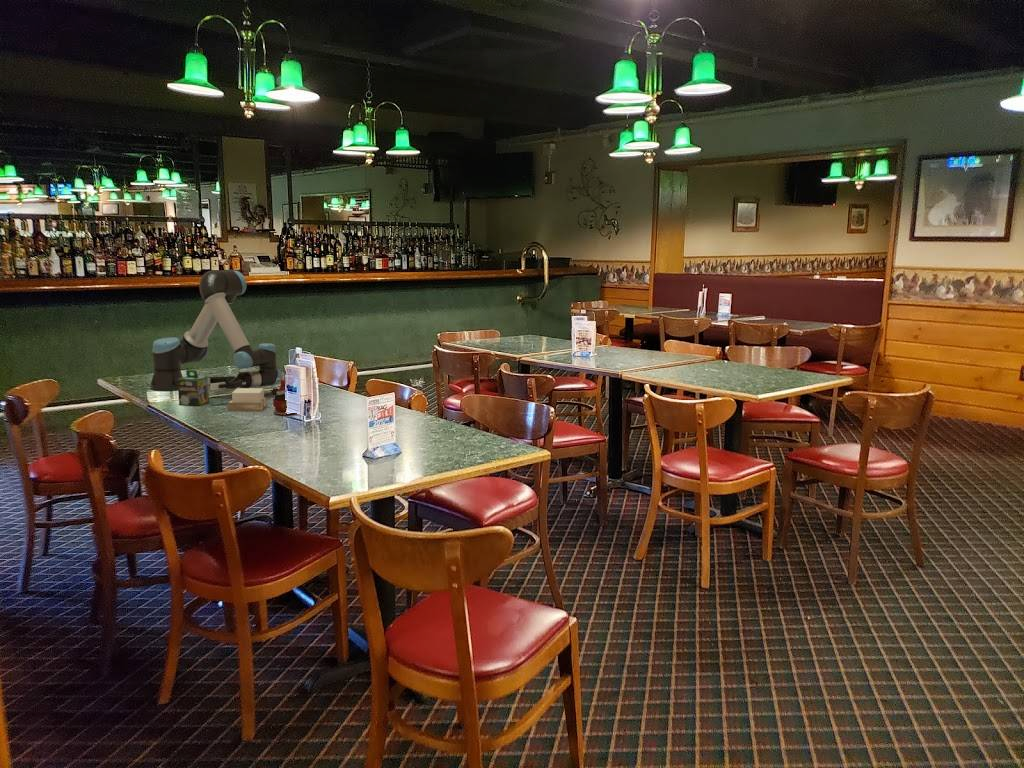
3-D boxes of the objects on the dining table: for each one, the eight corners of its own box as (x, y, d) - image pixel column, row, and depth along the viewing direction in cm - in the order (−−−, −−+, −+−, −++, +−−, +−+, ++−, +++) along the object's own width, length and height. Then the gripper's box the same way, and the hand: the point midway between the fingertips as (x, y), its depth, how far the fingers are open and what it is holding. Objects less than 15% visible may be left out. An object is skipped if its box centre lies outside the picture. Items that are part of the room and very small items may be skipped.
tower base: (235, 405, 319) (235, 396, 318) (266, 406, 321) (266, 397, 320) (228, 412, 306) (227, 402, 306) (260, 412, 308) (260, 403, 307)
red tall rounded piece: (298, 410, 311) (297, 368, 308) (299, 415, 303) (299, 372, 300) (271, 411, 308) (270, 368, 305) (272, 416, 299) (271, 372, 296)
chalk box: (209, 402, 322) (208, 368, 320) (198, 406, 313) (197, 371, 311) (189, 401, 323) (188, 367, 320) (178, 405, 314) (176, 370, 311)
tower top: (237, 397, 317) (236, 388, 317) (263, 397, 319) (263, 388, 319) (232, 402, 307) (231, 392, 306) (259, 402, 309) (259, 392, 308)
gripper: (263, 391, 327) (217, 397, 312) (234, 384, 344) (189, 389, 328) (262, 375, 326) (216, 380, 310) (234, 368, 342) (189, 372, 326)
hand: (202, 384), depth 319 cm, fingers open, 13 cm apart
